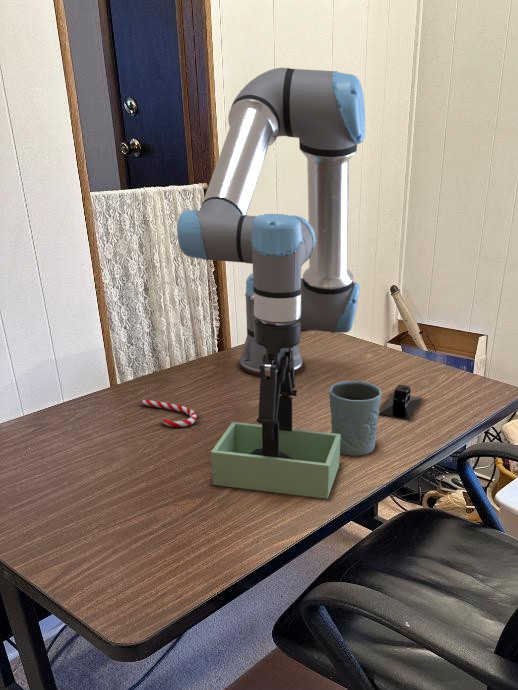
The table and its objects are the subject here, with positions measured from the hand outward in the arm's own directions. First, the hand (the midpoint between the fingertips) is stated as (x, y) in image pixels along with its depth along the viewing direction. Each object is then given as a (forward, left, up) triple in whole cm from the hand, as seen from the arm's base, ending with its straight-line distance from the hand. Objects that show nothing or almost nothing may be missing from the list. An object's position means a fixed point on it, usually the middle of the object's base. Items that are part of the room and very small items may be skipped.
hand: (277, 442), depth 123 cm
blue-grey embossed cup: (-15, +12, -7) cm, 20 cm away
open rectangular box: (0, 0, -7) cm, 7 cm away
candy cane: (-19, -28, -7) cm, 35 cm away
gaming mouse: (0, 0, -6) cm, 6 cm away
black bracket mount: (-37, +20, -7) cm, 42 cm away
